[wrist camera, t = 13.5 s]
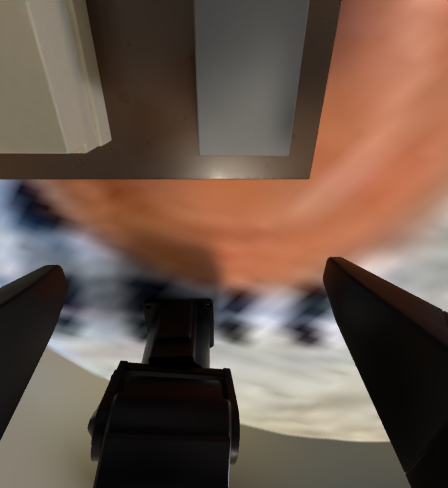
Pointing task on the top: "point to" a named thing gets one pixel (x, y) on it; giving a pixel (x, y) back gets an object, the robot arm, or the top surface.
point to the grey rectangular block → (247, 74)
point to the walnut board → (175, 100)
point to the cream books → (84, 71)
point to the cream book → (36, 82)
